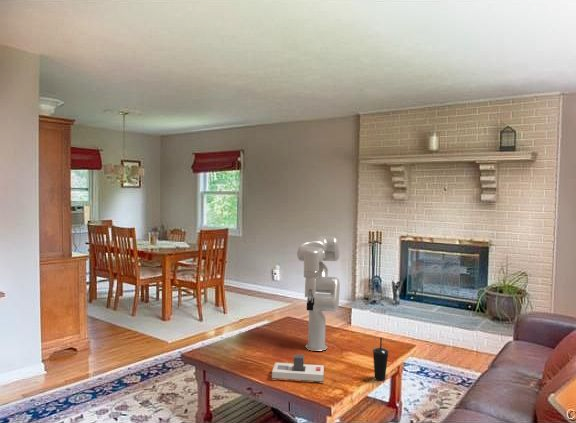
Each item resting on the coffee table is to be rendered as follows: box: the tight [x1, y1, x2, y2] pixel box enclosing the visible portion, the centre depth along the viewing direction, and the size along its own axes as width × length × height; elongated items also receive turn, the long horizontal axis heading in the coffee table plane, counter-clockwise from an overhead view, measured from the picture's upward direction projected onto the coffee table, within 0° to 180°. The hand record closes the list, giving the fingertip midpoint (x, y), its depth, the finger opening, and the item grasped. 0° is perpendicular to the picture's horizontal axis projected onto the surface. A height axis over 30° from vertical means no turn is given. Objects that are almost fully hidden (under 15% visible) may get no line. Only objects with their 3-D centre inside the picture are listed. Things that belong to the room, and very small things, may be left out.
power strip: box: [271, 362, 325, 383], centre depth 218 cm, size 12×24×5 cm, turn 84°
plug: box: [293, 354, 305, 371], centre depth 218 cm, size 4×4×9 cm
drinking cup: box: [372, 336, 390, 382], centre depth 218 cm, size 8×8×20 cm
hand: (310, 307), depth 229 cm, fingers open, 9 cm apart
